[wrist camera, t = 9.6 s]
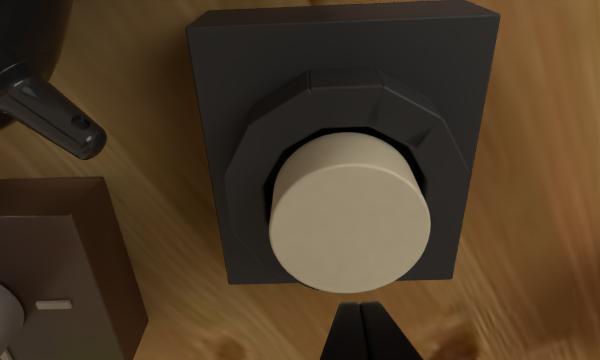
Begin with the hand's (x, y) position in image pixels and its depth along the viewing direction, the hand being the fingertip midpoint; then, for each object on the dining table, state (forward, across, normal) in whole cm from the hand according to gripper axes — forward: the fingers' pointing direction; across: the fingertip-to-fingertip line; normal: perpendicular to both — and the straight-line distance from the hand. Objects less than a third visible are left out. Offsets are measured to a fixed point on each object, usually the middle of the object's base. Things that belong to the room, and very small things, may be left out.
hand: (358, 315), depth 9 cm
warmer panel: (+10, +15, +6) cm, 19 cm away
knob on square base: (+10, 0, 0) cm, 10 cm away
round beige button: (+5, 0, 0) cm, 5 cm away
